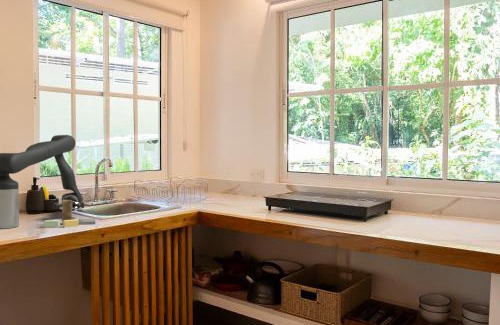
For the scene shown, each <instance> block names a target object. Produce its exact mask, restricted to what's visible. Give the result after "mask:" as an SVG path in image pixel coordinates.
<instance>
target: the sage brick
mask: <svg viewBox="0 0 500 325" xmlns="http://www.w3.org/2000/svg"><path fill="white" fill-rule="evenodd" d="M60 226H61V220H60V219H48V220H47V219H46V220H44V221H43V228H44V229H47V228H60Z"/></svg>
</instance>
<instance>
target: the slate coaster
mask: <svg viewBox="0 0 500 325" xmlns="http://www.w3.org/2000/svg"><path fill="white" fill-rule="evenodd" d="M77 219H78V218H77ZM78 220H79V225H81V226H83V225H96V222H97V221H96V220H97V219H96V218H79V219H78Z"/></svg>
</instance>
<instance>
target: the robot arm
mask: <svg viewBox="0 0 500 325" xmlns="http://www.w3.org/2000/svg"><path fill="white" fill-rule="evenodd" d="M76 144H77V143H76V139H75V138H74V137H73V136H72V135H70V134H57V135H53V136H52V137H51V139H50V140H48V141H40V142H36V143H34V144H31V145H29V146H28V147H26V149H25V151H22V152H21V151H20V152H11V153H10V152H9V153H8V152H0V229H13V228H17V227H19V226H20V216H19V215H20V207H19V206H20V205H19V204H20V202H19V201H20V200H19V197H20V196H19V182H18V181H17V180H14V179H13V178H11V175H10V174H12V175H13V174H17V173H20V172H21V171H23V170H25V169H26V168H28V167H30V166H34V165H36V164H39V163H43V162H45V161H47V160H49V159H51V158H54V159H55V163H56V165H57V168H58V170H59V171H58V172H59V173H60V174H59V175H60V179H61V184H62V188H63V190H65V191H72V192H69V193H63V195H61V202H60V203H59V202H54V203H53V204H52V208H53V210H58V211H60V210H62V201H63V200H72V212H73V211H75V210H79V209H85V201H83V196H82V194H81V192H80V190H79V188H78V185H77V180H76V176H75V173H74V170H73V169H72V167H71V166H70V165H69V162H67V160H66V159H65V157H64V154H65V153H70V152H71V151H73V150H74V149H75V147H76Z"/></svg>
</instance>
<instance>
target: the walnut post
mask: <svg viewBox="0 0 500 325" xmlns="http://www.w3.org/2000/svg"><path fill="white" fill-rule="evenodd" d="M61 202H62V209H61V214H62V215H61V220H62V222H61V223H62V224H61V225H62V226H63V220H73V211H72V200H63V201H62V200H61Z"/></svg>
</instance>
